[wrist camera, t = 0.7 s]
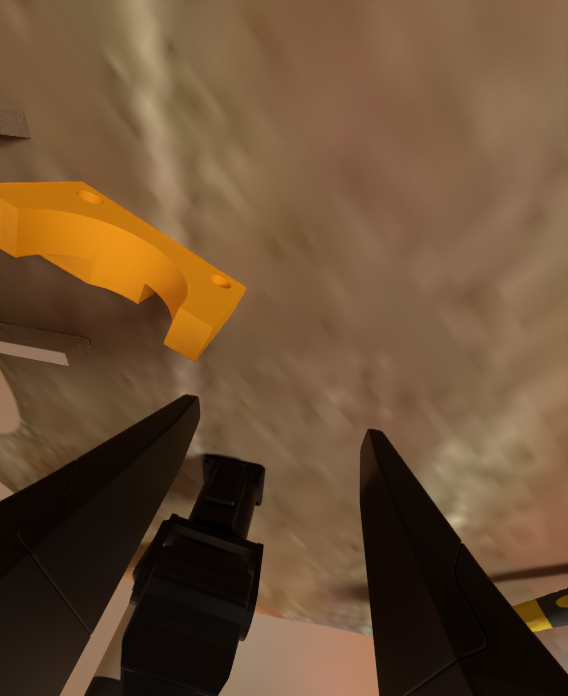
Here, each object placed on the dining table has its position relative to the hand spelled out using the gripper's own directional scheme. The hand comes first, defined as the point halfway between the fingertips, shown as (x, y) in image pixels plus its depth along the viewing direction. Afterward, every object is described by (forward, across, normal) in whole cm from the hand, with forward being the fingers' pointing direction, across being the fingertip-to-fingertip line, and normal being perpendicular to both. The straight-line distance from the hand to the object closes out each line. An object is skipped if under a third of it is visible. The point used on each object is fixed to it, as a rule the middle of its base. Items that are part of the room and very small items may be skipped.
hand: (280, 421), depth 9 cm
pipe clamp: (+12, +11, 0) cm, 16 cm away
